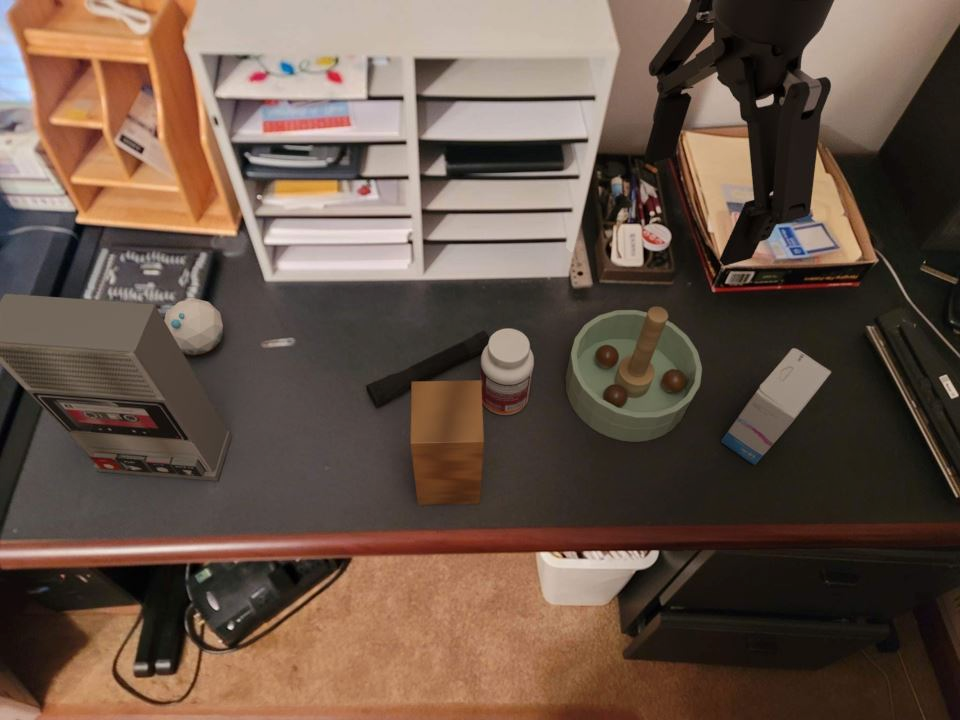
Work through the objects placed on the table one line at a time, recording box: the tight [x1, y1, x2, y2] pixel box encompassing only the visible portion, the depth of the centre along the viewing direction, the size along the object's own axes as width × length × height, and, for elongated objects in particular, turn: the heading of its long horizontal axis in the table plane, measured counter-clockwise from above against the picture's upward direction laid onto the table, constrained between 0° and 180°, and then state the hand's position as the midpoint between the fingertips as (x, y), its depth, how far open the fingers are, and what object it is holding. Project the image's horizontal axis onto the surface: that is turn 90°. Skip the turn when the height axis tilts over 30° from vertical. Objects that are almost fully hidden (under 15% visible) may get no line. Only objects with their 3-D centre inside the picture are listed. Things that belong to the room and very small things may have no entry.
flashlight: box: [365, 330, 490, 408], centre depth 87 cm, size 3×16×3 cm, turn 122°
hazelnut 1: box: [595, 345, 619, 369], centre depth 88 cm, size 3×3×3 cm
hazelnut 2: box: [603, 384, 628, 408], centre depth 84 cm, size 3×3×3 cm
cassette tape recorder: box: [0, 293, 233, 482], centre depth 71 cm, size 14×6×25 cm, turn 86°
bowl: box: [564, 309, 703, 443], centre depth 85 cm, size 15×15×6 cm
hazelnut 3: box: [661, 369, 687, 393], centre depth 86 cm, size 3×3×3 cm
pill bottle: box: [479, 327, 535, 416], centre depth 82 cm, size 6×6×11 cm
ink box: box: [720, 347, 832, 466], centre depth 80 cm, size 9×5×12 cm, turn 137°
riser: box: [409, 379, 485, 506], centre depth 74 cm, size 7×7×15 cm
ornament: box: [163, 297, 224, 356], centre depth 87 cm, size 7×7×8 cm
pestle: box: [614, 305, 669, 398], centre depth 82 cm, size 4×4×14 cm
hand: (694, 206), depth 63 cm, fingers open, 13 cm apart
